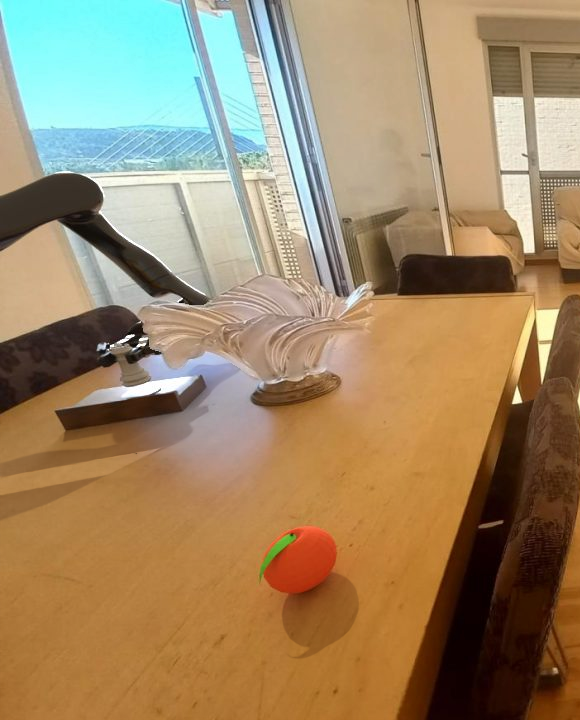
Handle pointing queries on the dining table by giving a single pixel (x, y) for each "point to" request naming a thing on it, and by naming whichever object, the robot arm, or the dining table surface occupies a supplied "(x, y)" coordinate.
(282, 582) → the clementine
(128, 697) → the dining table surface
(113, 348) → the rook chess piece
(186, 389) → the shelf
